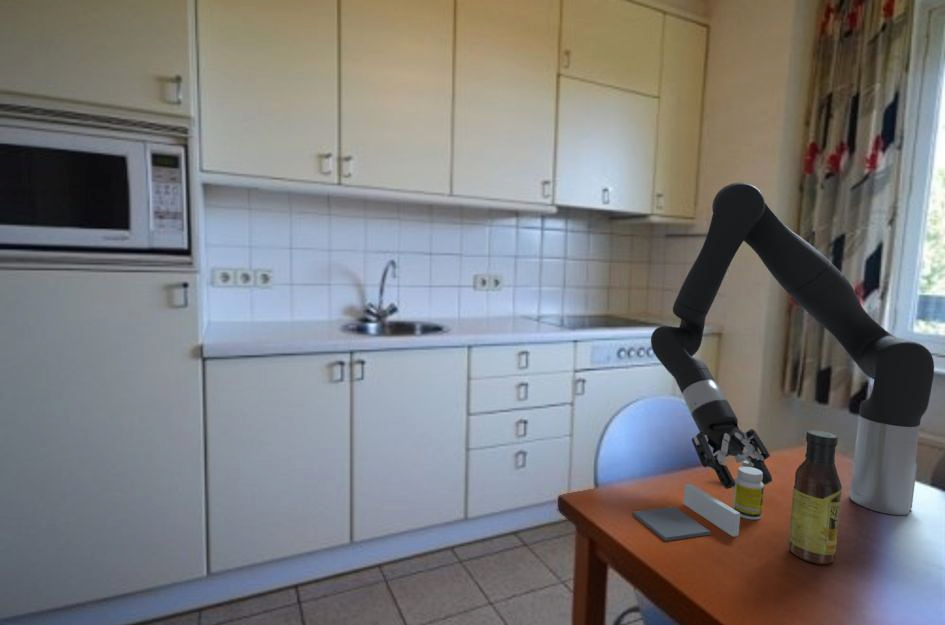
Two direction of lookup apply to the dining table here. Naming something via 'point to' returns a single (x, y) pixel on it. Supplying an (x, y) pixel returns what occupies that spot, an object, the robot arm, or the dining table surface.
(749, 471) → the supplement bottle
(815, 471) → the sauce bottle
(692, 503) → the wall
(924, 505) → the dining table surface
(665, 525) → the coaster
